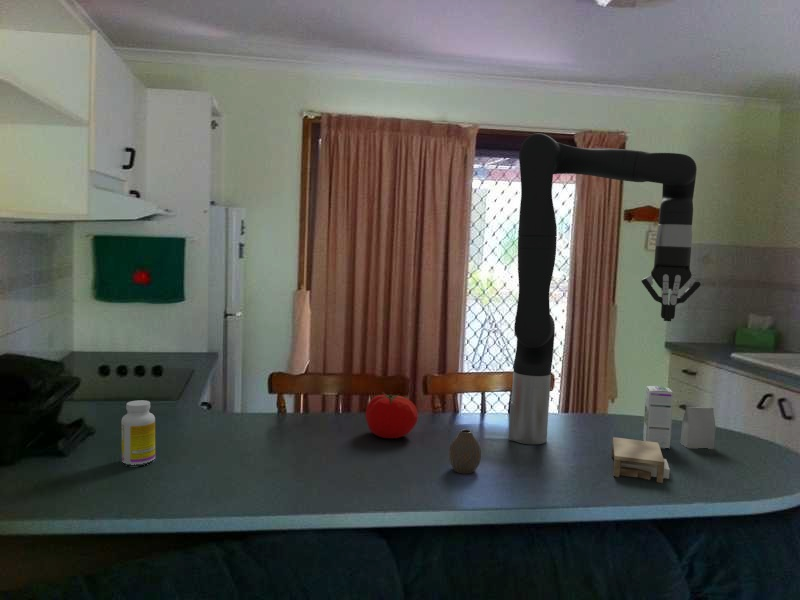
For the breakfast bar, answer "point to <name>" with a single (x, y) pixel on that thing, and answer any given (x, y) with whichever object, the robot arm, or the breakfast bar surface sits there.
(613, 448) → the small tan table
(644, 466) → the tile
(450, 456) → the vase
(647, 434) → the syrup box
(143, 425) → the supplement bottle
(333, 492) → the breakfast bar surface
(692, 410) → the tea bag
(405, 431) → the tomato
